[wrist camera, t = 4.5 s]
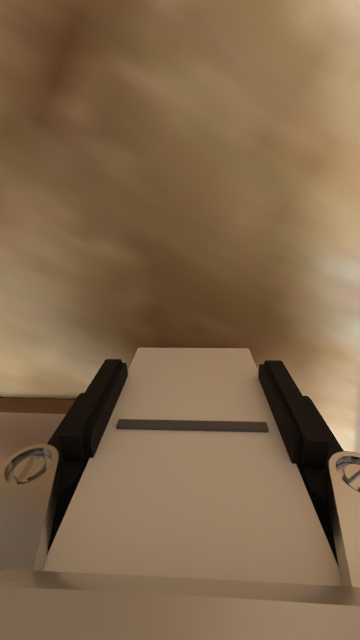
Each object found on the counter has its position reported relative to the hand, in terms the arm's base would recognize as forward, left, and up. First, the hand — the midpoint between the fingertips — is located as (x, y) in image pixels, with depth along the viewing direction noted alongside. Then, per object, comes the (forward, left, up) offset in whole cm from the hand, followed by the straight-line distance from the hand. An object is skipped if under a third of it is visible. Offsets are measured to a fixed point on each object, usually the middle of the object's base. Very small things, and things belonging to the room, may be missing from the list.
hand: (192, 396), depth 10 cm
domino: (0, 0, -3) cm, 3 cm away
